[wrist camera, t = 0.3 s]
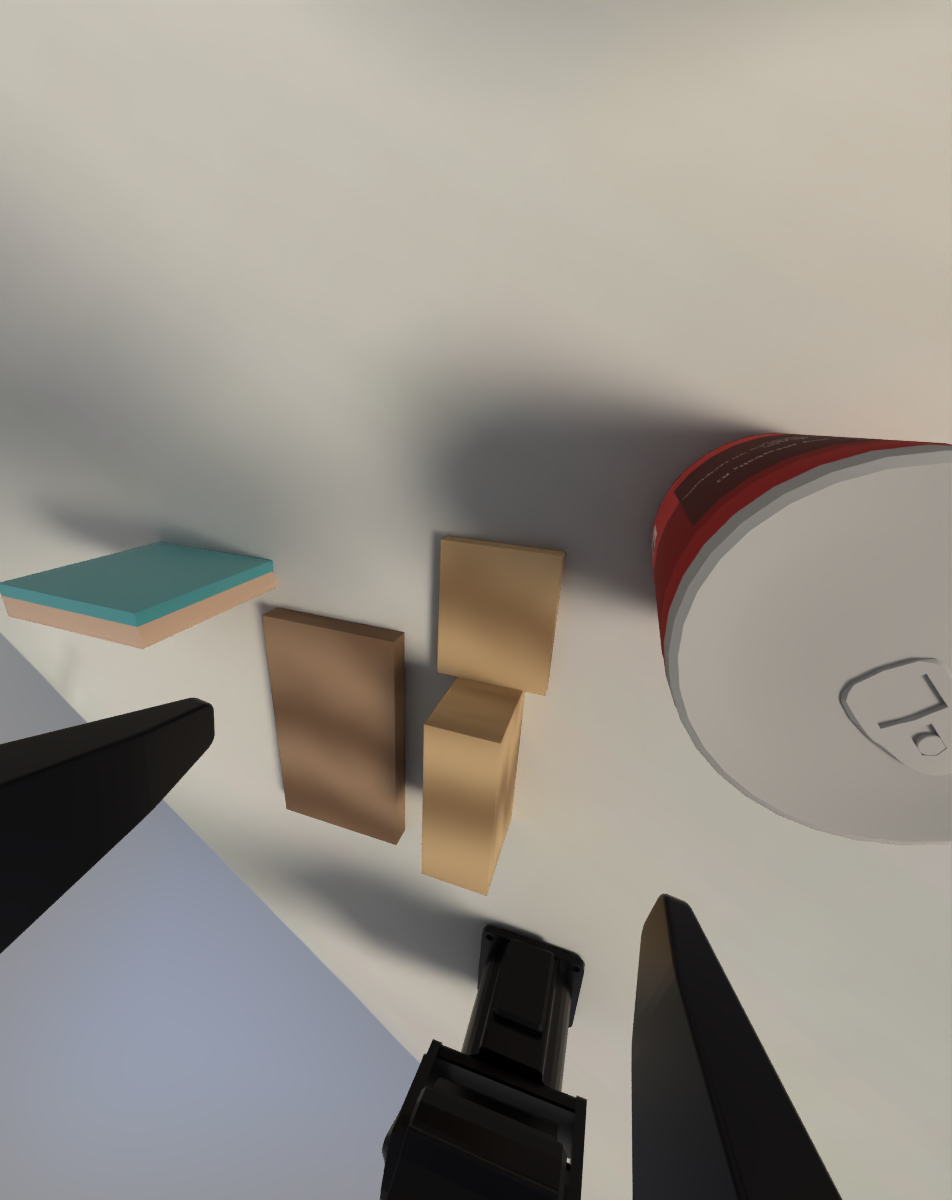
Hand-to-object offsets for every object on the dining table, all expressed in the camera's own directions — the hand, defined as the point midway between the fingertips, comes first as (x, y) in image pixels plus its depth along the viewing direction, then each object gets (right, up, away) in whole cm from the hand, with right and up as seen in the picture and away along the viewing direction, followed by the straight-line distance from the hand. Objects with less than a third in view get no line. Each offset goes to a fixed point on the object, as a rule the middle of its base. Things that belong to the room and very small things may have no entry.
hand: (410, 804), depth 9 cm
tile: (-14, +6, +19) cm, 24 cm away
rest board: (-7, -4, +20) cm, 21 cm away
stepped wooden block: (+2, -1, +16) cm, 16 cm away
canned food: (+12, +6, +10) cm, 17 cm away
